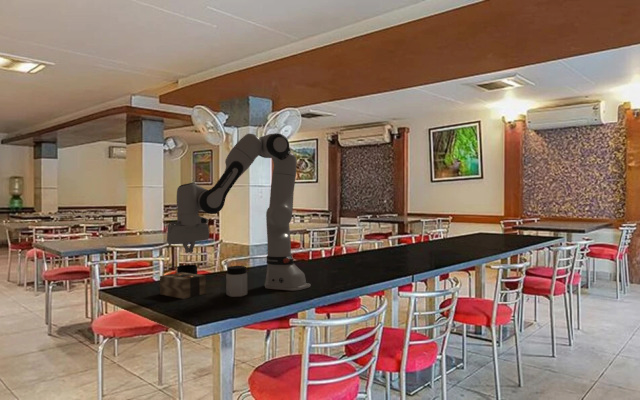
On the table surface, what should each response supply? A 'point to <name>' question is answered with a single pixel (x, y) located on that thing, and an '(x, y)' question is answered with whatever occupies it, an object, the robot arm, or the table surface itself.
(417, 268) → the table surface
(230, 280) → the jar
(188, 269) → the mug
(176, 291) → the oak block
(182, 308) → the table surface
